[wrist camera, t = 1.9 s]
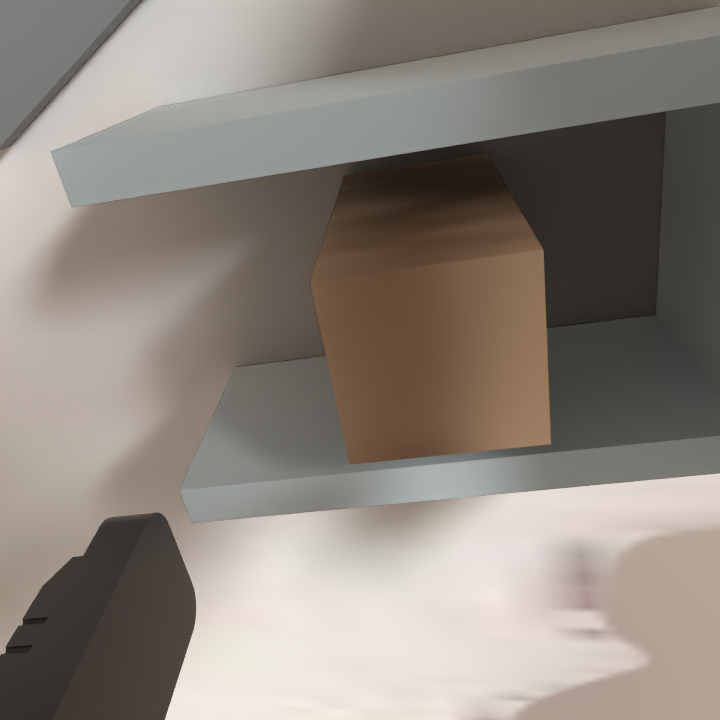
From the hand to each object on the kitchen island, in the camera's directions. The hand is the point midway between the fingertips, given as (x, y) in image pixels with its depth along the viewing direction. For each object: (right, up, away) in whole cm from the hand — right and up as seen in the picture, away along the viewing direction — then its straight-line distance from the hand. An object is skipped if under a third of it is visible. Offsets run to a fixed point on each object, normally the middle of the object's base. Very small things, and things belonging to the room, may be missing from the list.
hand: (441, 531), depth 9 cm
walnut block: (+1, +7, +12) cm, 14 cm away
